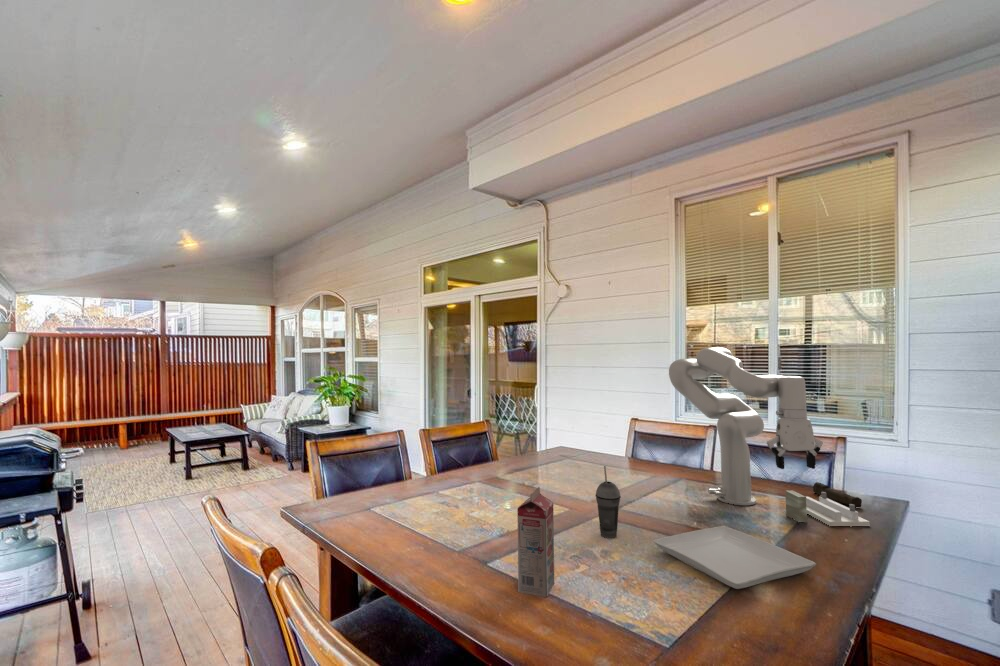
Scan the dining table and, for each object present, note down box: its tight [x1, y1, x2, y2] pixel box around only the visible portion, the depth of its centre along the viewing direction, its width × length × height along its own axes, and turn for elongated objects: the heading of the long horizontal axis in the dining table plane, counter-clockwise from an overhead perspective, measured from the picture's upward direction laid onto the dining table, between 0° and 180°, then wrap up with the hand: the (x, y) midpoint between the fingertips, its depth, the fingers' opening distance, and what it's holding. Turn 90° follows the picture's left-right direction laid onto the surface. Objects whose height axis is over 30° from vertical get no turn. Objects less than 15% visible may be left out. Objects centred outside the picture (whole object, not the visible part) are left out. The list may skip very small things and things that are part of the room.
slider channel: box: [805, 492, 871, 528], centre depth 154 cm, size 12×18×6 cm, turn 179°
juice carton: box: [517, 486, 555, 598], centre depth 109 cm, size 7×7×22 cm
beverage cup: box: [595, 465, 622, 540], centre depth 140 cm, size 7×7×20 cm
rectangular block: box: [784, 490, 808, 523], centre depth 153 cm, size 2×7×8 cm, turn 179°
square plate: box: [652, 525, 817, 590], centre depth 121 cm, size 27×27×4 cm
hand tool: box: [812, 481, 863, 508], centre depth 171 cm, size 19×4×5 cm, turn 5°
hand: (795, 467), depth 153 cm, fingers open, 9 cm apart
